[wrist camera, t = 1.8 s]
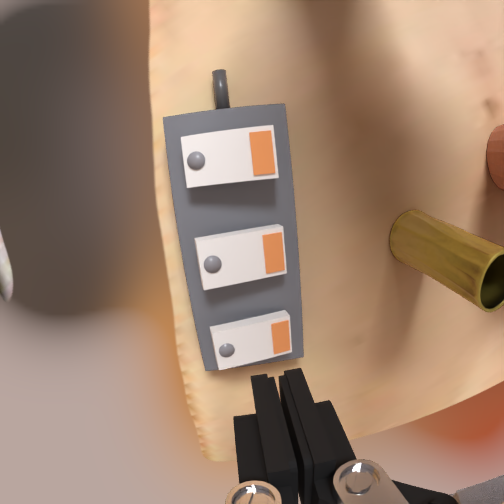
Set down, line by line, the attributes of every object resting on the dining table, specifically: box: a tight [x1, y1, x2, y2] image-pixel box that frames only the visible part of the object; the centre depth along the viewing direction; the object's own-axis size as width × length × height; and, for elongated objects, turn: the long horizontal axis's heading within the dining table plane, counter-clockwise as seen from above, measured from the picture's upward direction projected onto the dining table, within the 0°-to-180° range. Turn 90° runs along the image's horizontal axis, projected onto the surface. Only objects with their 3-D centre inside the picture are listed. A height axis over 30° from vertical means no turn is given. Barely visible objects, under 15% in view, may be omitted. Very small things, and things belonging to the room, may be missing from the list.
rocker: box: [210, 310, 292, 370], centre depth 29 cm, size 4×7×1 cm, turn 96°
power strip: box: [163, 70, 304, 371], centre depth 29 cm, size 28×10×4 cm, turn 6°
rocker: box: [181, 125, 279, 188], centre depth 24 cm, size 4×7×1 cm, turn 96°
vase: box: [390, 210, 504, 312], centre depth 26 cm, size 6×6×14 cm
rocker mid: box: [194, 224, 287, 290], centre depth 26 cm, size 4×7×1 cm, turn 96°
